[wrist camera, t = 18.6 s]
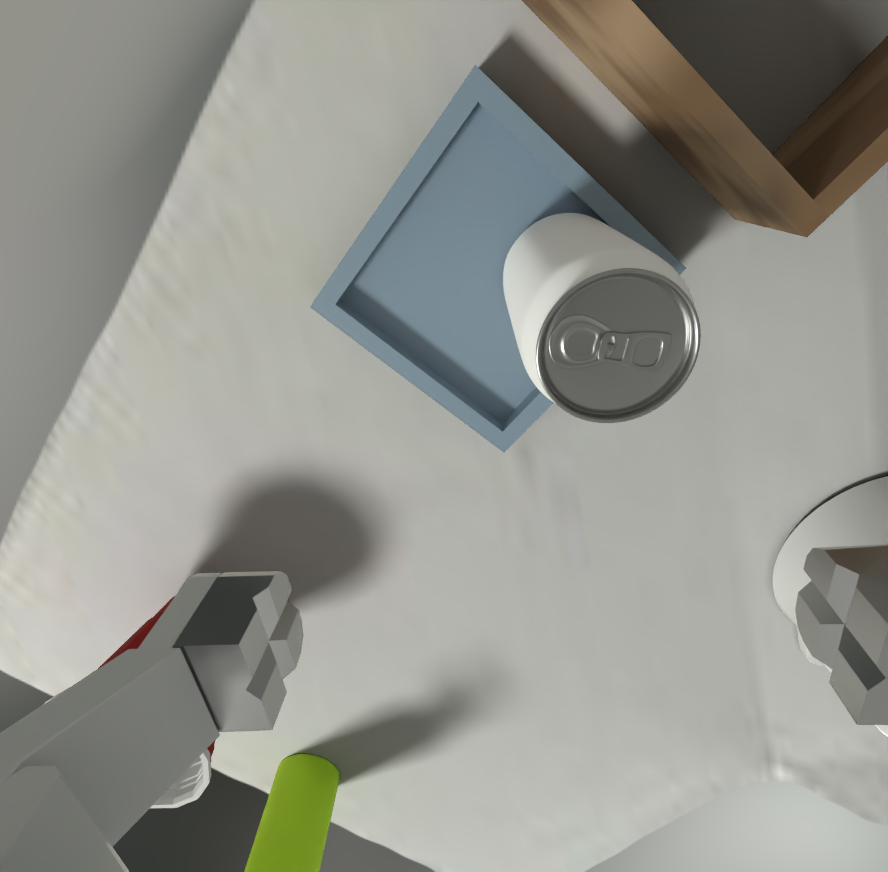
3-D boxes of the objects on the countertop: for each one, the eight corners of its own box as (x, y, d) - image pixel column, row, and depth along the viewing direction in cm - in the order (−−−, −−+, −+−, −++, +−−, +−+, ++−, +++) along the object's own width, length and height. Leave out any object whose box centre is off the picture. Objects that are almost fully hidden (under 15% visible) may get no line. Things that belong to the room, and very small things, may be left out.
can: (512, 203, 28) (544, 242, 17) (638, 219, 28) (743, 268, 18) (492, 326, 31) (508, 423, 21) (605, 340, 31) (679, 443, 21)
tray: (673, 261, 30) (686, 268, 28) (502, 437, 35) (504, 452, 33) (475, 71, 26) (475, 64, 25) (319, 298, 32) (309, 307, 30)
